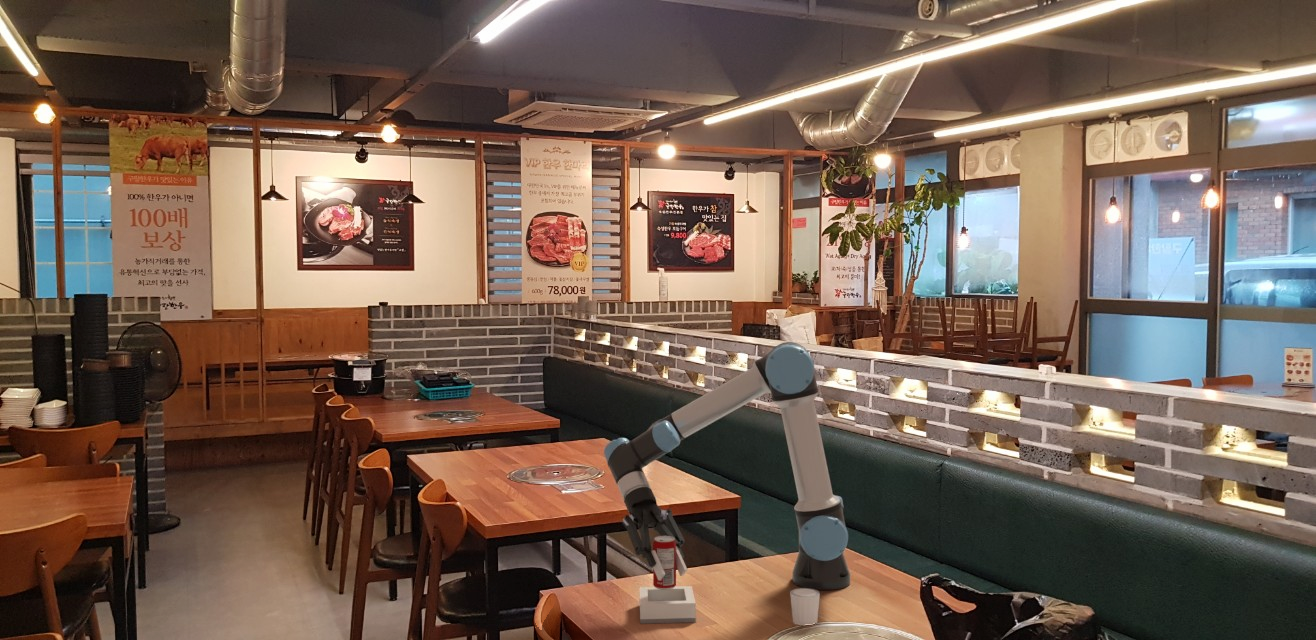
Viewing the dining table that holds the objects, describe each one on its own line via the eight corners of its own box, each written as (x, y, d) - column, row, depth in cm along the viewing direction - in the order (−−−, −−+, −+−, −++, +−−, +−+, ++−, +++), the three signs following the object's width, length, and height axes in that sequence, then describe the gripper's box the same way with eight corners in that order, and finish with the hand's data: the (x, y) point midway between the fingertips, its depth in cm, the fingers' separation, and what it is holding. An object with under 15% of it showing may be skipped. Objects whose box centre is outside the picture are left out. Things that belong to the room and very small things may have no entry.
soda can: (665, 581, 234) (665, 533, 234) (680, 586, 230) (680, 537, 230) (648, 586, 231) (648, 537, 230) (664, 591, 227) (663, 541, 226)
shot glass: (819, 627, 220) (819, 597, 219) (789, 626, 221) (789, 596, 221) (820, 617, 226) (820, 588, 226) (791, 616, 228) (790, 586, 228)
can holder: (691, 604, 237) (691, 586, 237) (695, 622, 224) (695, 603, 224) (639, 605, 237) (639, 587, 237) (640, 623, 224) (640, 604, 224)
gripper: (662, 498, 248) (699, 576, 234) (599, 507, 238) (633, 589, 225) (673, 481, 243) (711, 560, 230) (609, 489, 233) (645, 573, 220)
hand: (672, 574), depth 227 cm, fingers closed on soda can, 5 cm apart
